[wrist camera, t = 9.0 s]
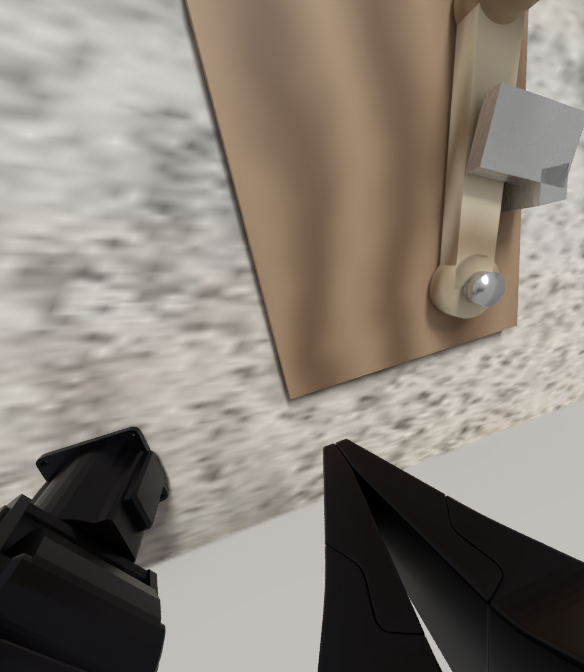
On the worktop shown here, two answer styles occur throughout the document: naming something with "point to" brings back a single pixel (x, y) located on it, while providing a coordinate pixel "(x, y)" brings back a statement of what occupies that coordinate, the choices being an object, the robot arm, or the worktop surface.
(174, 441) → the worktop surface
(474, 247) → the wooden crank lever
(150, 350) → the worktop surface
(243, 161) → the walnut board
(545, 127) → the keeper
